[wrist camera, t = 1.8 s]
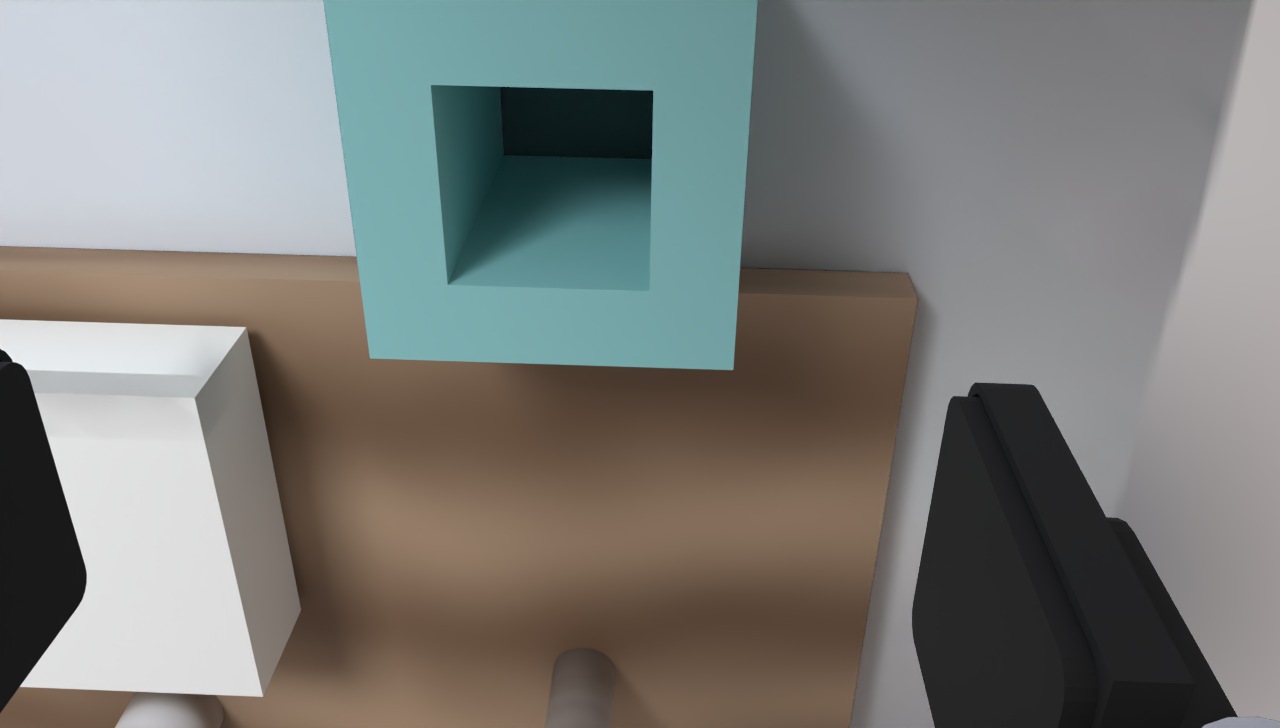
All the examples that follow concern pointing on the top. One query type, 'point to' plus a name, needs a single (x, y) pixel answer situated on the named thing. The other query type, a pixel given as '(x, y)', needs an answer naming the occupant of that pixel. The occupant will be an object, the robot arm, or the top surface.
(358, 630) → the board
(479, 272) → the teal piece
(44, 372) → the cover
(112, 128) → the top surface
